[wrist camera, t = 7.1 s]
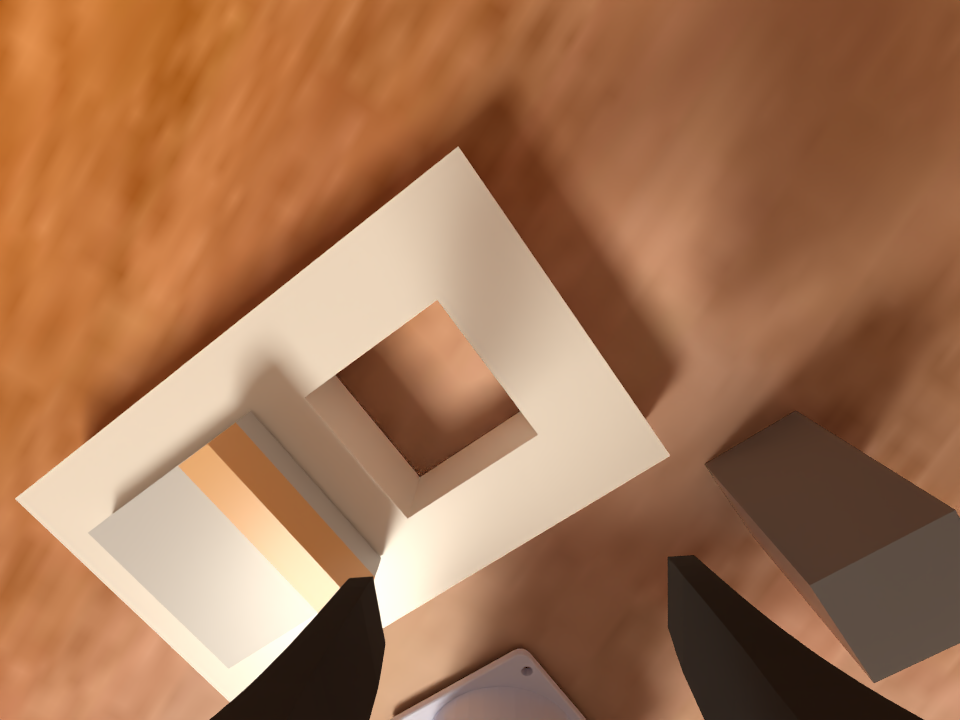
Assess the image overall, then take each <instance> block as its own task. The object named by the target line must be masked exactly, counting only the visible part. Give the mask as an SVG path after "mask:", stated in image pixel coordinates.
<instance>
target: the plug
mask: <svg viewBox="0 0 960 720" xmlns="http://www.w3.org/2000/svg"><path fill="white" fill-rule="evenodd" d="M705 466H706V467H707V469H708V470H709V472H710V473H711V475H712V476H713V478H714V479H715V481H716V482H717V484H718V485H719V487H720V488H721V490H722V491H723V492H724V494H725V495H726V497H727V498H728V500H729V501H730V503H731V504H732V506H733V507H734V509H735V510H736V512H737V513H738V515H739V516H740V518H741V519H742V521H743V522H744V524H745V525H746V527H747V528H748V530H749V531H750V533H751V534H752V536H753V537H754V538H755V539H756V540H757V542H758V543H759V544H760V545H761V547H762V548H763V549H764V550H765V551H766V553H767V554H768V555H769V556H770V557H771V559H772V560H773V561H774V562H775V564H776V565H777V566H778V567H779V568H780V570H781V571H782V572H783V573H784V574H785V576H786V577H787V578H788V579H789V581H790V582H791V583H792V584H793V585H794V587H795V588H796V589H797V590H798V591H799V593H800V594H801V595H802V596H803V598H804V599H805V600H806V601H807V602H808V604H809V605H810V606H811V607H812V609H813V610H814V611H815V612H816V613H817V615H818V616H819V617H820V618H821V619H822V621H823V622H824V623H825V624H826V626H827V627H828V628H829V629H830V630H831V632H832V633H833V634H834V635H835V636H836V638H837V639H838V640H839V641H840V643H841V644H842V645H843V646H844V647H845V649H846V650H847V651H848V652H849V653H850V655H851V656H852V657H853V658H854V660H855V661H856V662H857V663H858V664H859V666H860V667H861V668H862V669H863V670H864V672H865V673H866V674H867V675H868V677H869V678H870V679H871V680H872V681H873V683H876V682H878V681H880V680H882V679H884V678H886V677H888V676H890V675H893V674H895V673H897V672H899V671H901V670H903V669H905V668H908V667H910V666H912V665H914V664H916V663H918V662H920V661H923V660H925V659H927V658H929V657H931V656H933V655H935V654H938V653H940V652H942V651H944V650H946V649H948V648H950V647H952V646H955V645H957V644H959V643H960V518H959V516H958V514H957V512H956V510H954V509H953V508H951V507H950V506H948V505H946V504H945V503H943V502H942V501H940V500H938V499H937V498H935V497H933V496H932V495H930V494H929V493H927V492H925V491H924V490H922V489H921V488H919V487H917V486H916V485H914V484H913V483H911V482H909V481H908V480H906V479H905V478H903V477H901V476H900V475H898V474H897V473H895V472H893V471H892V470H890V469H889V468H887V467H885V466H884V465H882V464H881V463H879V462H877V461H876V460H874V459H873V458H871V457H869V456H868V455H866V454H865V453H863V452H861V451H860V450H858V449H856V448H855V447H853V446H852V445H850V444H848V443H847V442H845V441H844V440H842V439H840V438H839V437H837V436H836V435H834V434H832V433H831V432H829V431H828V430H826V429H824V428H823V427H821V426H820V425H818V424H816V423H815V422H813V421H812V420H810V419H808V418H807V417H805V416H804V415H802V414H800V413H799V412H797V411H794V412H793V413H791V414H789V415H787V416H786V417H784V418H782V419H781V420H779V421H777V422H776V423H774V424H772V425H771V426H769V427H767V428H765V429H764V430H762V431H760V432H759V433H757V434H755V435H754V436H752V437H750V438H748V439H747V440H745V441H743V442H742V443H740V444H738V445H737V446H735V447H733V448H731V449H730V450H728V451H726V452H725V453H723V454H721V455H720V456H718V457H716V458H714V459H713V460H711V461H709V462H708V463H706V464H705Z"/></svg>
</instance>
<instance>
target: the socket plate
mask: <svg viewBox="0 0 960 720" xmlns="http://www.w3.org/2000/svg"><path fill="white" fill-rule="evenodd" d="M436 300H438V301H439V303H440V304H441V305H442V307H443V308H444V309H445V311H446V312H447V313H448V315H449V316H450V317H451V319H452V320H453V321H454V323H455V324H456V326H457V327H458V328H459V330H460V331H461V332H462V334H463V335H464V336H465V338H466V339H467V340H468V342H469V343H470V344H471V346H472V347H473V348H474V350H475V351H476V352H477V354H478V355H479V356H480V358H481V359H482V360H483V362H484V363H485V364H486V366H487V367H488V368H489V370H490V371H491V372H492V374H493V375H494V376H495V378H496V379H497V380H498V382H499V383H500V384H501V386H502V387H503V388H504V390H505V391H506V392H507V394H508V395H509V396H510V398H511V399H512V400H513V402H514V403H515V404H516V406H517V407H518V408H519V410H520V412H518V413H517V414H515V415H514V416H512V417H511V418H509V419H508V420H506V421H505V422H503V423H502V424H500V425H499V426H497V427H496V428H494V429H492V430H491V431H489V432H488V433H486V434H485V435H483V436H482V437H480V438H479V439H477V440H476V441H474V442H473V443H471V444H470V445H468V446H467V447H465V448H464V449H462V450H461V451H459V452H458V453H456V454H455V455H453V456H451V457H450V458H448V459H447V460H445V461H444V462H442V463H441V464H439V465H438V466H436V467H435V468H433V469H432V470H430V471H429V472H427V473H426V474H424V475H423V476H421V477H419V476H418V474H417V473H416V472H415V471H414V470H413V468H412V467H411V466H410V465H409V463H408V462H407V461H406V460H405V459H404V457H403V456H402V455H401V454H400V453H399V451H398V450H397V449H396V448H395V447H394V445H393V444H392V443H391V442H390V441H389V439H388V438H387V437H386V436H385V434H384V433H383V432H382V431H381V430H380V428H379V427H378V426H377V425H376V424H375V422H374V421H373V420H372V419H371V418H370V416H369V415H368V414H367V413H366V412H365V410H364V409H363V408H362V407H361V405H360V404H359V403H358V402H357V401H356V399H355V398H354V397H353V396H352V395H351V393H350V392H349V391H348V390H347V389H346V387H345V386H344V385H343V384H342V382H341V381H340V380H339V379H338V378H337V376H336V374H337V373H338V372H340V371H341V370H342V369H344V368H345V367H347V366H348V365H349V364H351V363H352V362H353V361H355V360H356V359H357V358H359V357H360V356H361V355H363V354H364V353H366V352H367V351H368V350H370V349H371V348H372V347H374V346H375V345H376V344H378V343H379V342H381V341H382V340H383V339H385V338H386V337H387V336H389V335H390V334H391V333H393V332H394V331H396V330H397V329H398V328H400V327H401V326H402V325H404V324H405V323H406V322H408V321H409V320H411V319H412V318H413V317H415V316H416V315H417V314H419V313H420V312H421V311H423V310H424V309H426V308H427V307H428V306H430V305H431V304H432V303H434V302H435V301H436ZM250 411H251V412H252V413H253V414H254V415H255V416H256V418H257V419H258V420H259V421H260V422H261V423H262V424H263V425H264V427H265V428H266V429H267V430H268V431H269V432H270V433H271V434H272V436H273V437H274V438H275V439H276V440H277V441H278V442H279V443H280V445H281V446H282V447H283V448H284V449H285V450H286V451H287V452H288V454H289V455H290V456H291V457H292V458H293V459H294V460H295V462H296V463H297V464H298V465H299V466H300V467H301V468H302V469H303V471H304V472H305V473H306V474H307V475H308V476H309V477H310V478H311V480H312V481H313V482H314V483H315V484H316V485H317V486H318V487H319V489H320V490H321V491H322V492H323V493H324V494H325V495H326V496H327V498H328V499H329V500H330V501H331V502H332V503H333V504H334V506H335V507H336V508H337V509H338V510H339V511H340V512H341V513H342V515H343V516H344V517H345V518H346V519H347V520H348V521H349V522H350V524H351V525H352V526H353V527H354V528H355V529H356V530H357V531H358V533H359V534H360V535H361V536H362V537H363V538H364V539H365V540H366V542H367V543H368V544H369V545H370V546H371V547H372V548H373V550H374V551H375V552H376V553H377V554H378V555H379V556H380V557H381V561H380V564H379V567H378V570H377V573H376V576H375V578H374V584H375V590H376V595H377V601H378V606H379V611H380V617H381V622H382V628H384V627H386V626H388V625H389V624H391V623H393V622H394V621H396V620H398V619H399V618H401V617H403V616H404V615H406V614H408V613H409V612H411V611H413V610H414V609H416V608H418V607H419V606H421V605H423V604H424V603H426V602H428V601H429V600H431V599H433V598H434V597H436V596H438V595H439V594H441V593H443V592H444V591H446V590H448V589H449V588H451V587H453V586H454V585H456V584H458V583H459V582H461V581H463V580H464V579H466V578H468V577H469V576H471V575H473V574H474V573H476V572H478V571H479V570H481V569H483V568H484V567H486V566H488V565H489V564H491V563H493V562H494V561H496V560H498V559H499V558H501V557H503V556H504V555H506V554H508V553H509V552H511V551H513V550H514V549H516V548H518V547H519V546H521V545H523V544H524V543H526V542H528V541H529V540H531V539H533V538H534V537H536V536H538V535H539V534H541V533H543V532H544V531H546V530H548V529H549V528H551V527H553V526H554V525H556V524H558V523H559V522H561V521H563V520H564V519H566V518H568V517H569V516H571V515H573V514H574V513H576V512H578V511H579V510H581V509H583V508H584V507H586V506H588V505H589V504H591V503H593V502H594V501H596V500H598V499H599V498H601V497H603V496H604V495H606V494H608V493H609V492H611V491H613V490H614V489H616V488H618V487H619V486H621V485H623V484H624V483H626V482H628V481H629V480H631V479H633V478H634V477H636V476H638V475H639V474H641V473H643V472H644V471H646V470H648V469H649V468H651V467H653V466H654V465H656V464H658V463H659V462H661V461H663V460H664V459H666V458H668V457H669V456H670V454H669V453H668V451H667V450H666V449H665V447H664V446H663V444H662V443H661V441H660V440H659V438H658V437H657V435H656V434H655V433H654V431H653V430H652V428H651V427H650V425H649V424H648V422H647V421H646V419H645V418H644V416H643V415H642V414H641V412H640V411H639V409H638V408H637V406H636V405H635V403H634V402H633V400H632V399H631V398H630V396H629V395H628V393H627V392H626V390H625V389H624V387H623V386H622V384H621V383H620V381H619V380H618V379H617V377H616V376H615V374H614V373H613V371H612V370H611V368H610V367H609V365H608V364H607V362H606V361H605V360H604V358H603V357H602V355H601V354H600V352H599V351H598V349H597V348H596V346H595V345H594V344H593V342H592V341H591V339H590V338H589V336H588V335H587V333H586V332H585V330H584V329H583V327H582V326H581V325H580V323H579V322H578V320H577V319H576V317H575V316H574V314H573V313H572V311H571V310H570V309H569V307H568V306H567V304H566V303H565V301H564V300H563V298H562V297H561V295H560V294H559V292H558V291H557V290H556V288H555V287H554V285H553V284H552V282H551V281H550V279H549V278H548V276H547V275H546V274H545V272H544V271H543V269H542V268H541V266H540V265H539V263H538V262H537V260H536V259H535V257H534V256H533V255H532V253H531V252H530V250H529V249H528V247H527V246H526V244H525V243H524V241H523V240H522V239H521V237H520V236H519V234H518V233H517V231H516V230H515V228H514V227H513V225H512V224H511V222H510V221H509V220H508V218H507V217H506V215H505V214H504V212H503V211H502V209H501V208H500V206H499V205H498V204H497V202H496V201H495V199H494V198H493V196H492V195H491V193H490V192H489V190H488V189H487V187H486V186H485V185H484V183H483V182H482V180H481V179H480V177H479V176H478V174H477V173H476V171H475V170H474V169H473V167H472V166H471V164H470V163H469V161H468V160H467V158H466V157H465V155H464V154H463V152H462V151H461V150H460V148H459V147H457V148H455V149H454V150H453V151H452V152H450V153H449V154H448V155H447V156H445V157H444V158H443V159H442V160H440V161H439V162H438V163H437V164H435V165H434V166H433V167H432V168H430V169H429V170H428V171H426V172H425V173H424V174H423V175H421V176H420V177H419V178H418V179H416V180H415V181H414V182H413V183H411V184H410V185H409V186H408V187H406V188H405V189H404V190H403V191H401V192H400V193H399V194H398V195H396V196H395V197H394V198H393V199H391V200H390V201H389V202H388V203H386V204H385V205H384V206H382V207H381V208H380V209H379V210H377V211H376V212H375V213H374V214H372V215H371V216H370V217H369V218H367V219H366V220H365V221H364V222H362V223H361V224H360V225H359V226H357V227H356V228H355V229H354V230H352V231H351V232H350V233H349V234H347V235H346V236H345V237H344V238H342V239H341V240H340V241H338V242H337V243H336V244H335V245H333V246H332V247H331V248H330V249H328V250H327V251H326V252H325V253H323V254H322V255H321V256H320V257H318V258H317V259H316V260H315V261H313V262H312V263H311V264H310V265H308V266H307V267H306V268H305V269H303V270H302V271H301V272H300V273H298V274H297V275H296V276H294V277H293V278H292V279H291V280H289V281H288V282H287V283H286V284H284V285H283V286H282V287H281V288H279V289H278V290H277V291H276V292H274V293H273V294H272V295H271V296H269V297H268V298H267V299H266V300H264V301H263V302H262V303H261V304H259V305H258V306H257V307H256V308H254V309H253V310H252V311H250V312H249V313H248V314H247V315H245V316H244V317H243V318H242V319H240V320H239V321H238V322H237V323H235V324H234V325H233V326H232V327H230V328H229V329H228V330H227V331H225V332H224V333H223V334H222V335H220V336H219V337H218V338H217V339H215V340H214V341H213V342H212V343H210V344H209V345H208V346H206V347H205V348H204V349H203V350H201V351H200V352H199V353H198V354H196V355H195V356H194V357H193V358H191V359H190V360H189V361H188V362H186V363H185V364H184V365H183V366H181V367H180V368H179V369H178V370H176V371H175V372H174V373H173V374H171V375H170V376H169V377H168V378H166V379H165V380H164V381H162V382H161V383H160V384H159V385H157V386H156V387H155V388H154V389H152V390H151V391H150V392H149V393H147V394H146V395H145V396H144V397H142V398H141V399H140V400H139V401H137V402H136V403H135V404H134V405H132V406H131V407H130V408H129V409H127V410H126V411H125V412H124V413H122V414H121V415H120V416H118V417H117V418H116V419H115V420H113V421H112V422H111V423H110V424H108V425H107V426H106V427H105V428H103V429H102V430H101V431H100V432H98V433H97V434H96V435H95V436H93V437H92V438H91V439H90V440H88V441H87V442H86V443H85V444H83V445H82V446H81V447H80V448H78V449H77V450H76V451H74V452H73V453H72V454H71V455H69V456H68V457H67V458H66V459H64V460H63V461H62V462H61V463H59V464H58V465H57V466H56V467H54V468H53V469H52V470H51V471H49V472H48V473H47V474H46V475H44V476H43V477H42V478H41V479H39V480H38V481H37V482H36V483H34V484H33V485H32V486H31V487H29V488H28V489H27V490H25V491H24V492H23V493H22V494H20V495H19V496H18V497H17V498H15V499H16V500H17V501H18V502H19V503H20V504H21V505H22V506H23V507H24V508H25V509H26V510H27V511H28V512H29V513H31V514H32V515H33V516H34V517H35V518H36V519H37V520H38V521H39V522H40V523H41V524H42V525H43V526H44V527H45V528H46V529H47V530H48V531H50V532H51V533H52V534H53V535H54V536H55V537H56V538H57V539H58V540H59V541H60V542H61V543H62V544H63V545H64V546H65V547H66V548H67V549H69V550H70V551H71V552H72V553H73V554H74V555H75V556H76V557H77V558H78V559H79V560H80V561H81V562H82V563H83V564H84V565H85V566H86V567H88V568H89V569H90V570H91V571H92V572H93V573H94V574H95V575H96V576H97V577H98V578H99V579H100V580H101V581H102V582H103V583H104V584H105V585H107V586H108V587H109V588H110V589H111V590H112V591H113V592H114V593H115V594H116V595H117V596H118V597H119V598H120V599H121V600H122V601H123V602H124V603H126V604H127V605H128V606H129V607H130V608H131V609H132V610H133V611H134V612H135V613H136V614H137V615H138V616H139V617H140V618H141V619H142V620H143V621H145V622H146V623H147V624H148V625H149V626H150V627H151V628H152V629H153V630H154V631H155V632H156V633H157V634H158V635H159V636H160V637H161V638H162V639H164V640H165V641H166V642H167V643H168V644H169V645H170V646H171V647H172V648H173V649H174V650H175V651H176V652H177V653H178V654H179V655H180V656H181V657H183V658H184V659H185V660H186V661H187V662H188V663H189V664H190V665H191V666H192V667H193V668H194V669H195V670H196V671H197V672H198V673H199V674H200V675H202V676H203V677H204V678H205V679H206V680H207V681H208V682H209V683H210V684H211V685H212V686H213V687H214V688H215V689H216V690H217V691H218V692H219V693H221V694H222V695H223V696H224V697H225V698H226V699H227V700H228V701H229V702H231V701H232V700H233V699H234V698H235V697H237V696H238V695H239V694H240V693H241V692H242V691H243V690H244V689H245V688H247V687H248V686H249V685H250V684H251V683H252V682H253V681H254V680H255V679H256V678H257V677H258V676H259V675H260V674H261V673H262V672H263V671H264V670H265V669H266V668H267V667H268V666H269V665H270V664H271V663H272V662H273V661H274V660H275V659H276V658H277V657H278V656H279V655H280V654H281V653H282V652H283V651H284V650H285V649H286V648H287V647H288V646H289V645H290V644H291V643H292V642H293V640H294V639H295V638H296V637H297V636H298V635H299V634H300V633H301V632H302V631H303V629H304V628H305V627H306V626H307V625H308V624H309V623H310V622H311V621H312V620H313V618H314V617H315V616H316V615H317V614H318V613H317V614H315V615H314V616H312V617H311V618H309V619H307V620H306V621H304V622H303V623H301V624H299V625H298V626H296V627H295V628H293V629H291V630H290V631H288V632H287V633H285V634H283V635H282V636H280V637H279V638H277V639H275V640H274V641H272V642H271V643H269V644H267V645H266V646H264V647H263V648H261V649H259V650H258V651H256V652H255V653H253V654H251V655H250V656H248V657H247V658H245V659H243V660H242V661H240V662H239V663H237V664H235V665H234V666H232V667H231V668H229V669H228V668H227V667H226V666H225V665H224V664H223V663H222V662H221V661H220V660H219V659H218V658H217V657H216V656H215V655H214V654H213V653H212V652H211V651H210V650H209V649H208V648H206V647H205V646H204V645H203V644H202V643H201V642H200V641H199V640H198V639H197V638H196V637H195V636H194V635H193V634H192V633H191V632H190V631H189V630H188V629H187V628H186V627H185V626H184V625H183V624H182V623H181V622H180V621H179V620H178V619H176V618H175V617H174V616H173V615H172V614H171V613H170V612H169V611H168V610H167V609H166V608H165V607H164V606H163V605H162V604H161V603H160V602H159V601H158V600H157V599H156V598H155V597H154V596H153V595H152V594H151V593H150V592H149V591H147V590H146V589H145V588H144V587H143V586H142V585H141V584H140V583H139V582H138V581H137V580H136V579H135V578H134V577H133V576H132V575H131V574H130V573H129V572H128V571H127V570H126V569H125V568H124V567H123V566H122V565H121V564H120V563H118V562H117V561H116V560H115V559H114V558H113V557H112V556H111V555H110V554H109V553H108V552H107V551H106V550H105V549H104V548H103V547H102V546H101V545H100V544H99V543H98V542H97V541H96V540H95V539H94V538H93V537H92V536H91V535H89V534H88V532H89V531H91V530H92V529H93V528H95V527H96V526H97V525H99V524H100V523H101V522H103V521H104V520H105V519H107V518H108V517H109V516H110V515H112V514H113V513H115V512H116V511H117V510H119V509H120V508H121V507H123V506H124V505H125V504H127V503H128V502H129V501H131V500H132V499H133V498H135V497H136V496H137V495H139V494H140V493H141V492H143V491H144V490H145V489H147V488H148V487H149V486H151V485H152V484H153V483H155V482H156V481H157V480H159V479H160V478H161V477H163V476H164V475H165V474H167V473H168V472H169V471H171V470H172V469H173V468H175V467H176V466H177V465H179V464H180V463H182V462H183V461H184V460H186V459H187V458H188V457H190V456H191V455H192V454H194V453H195V452H196V451H198V450H199V449H200V448H202V447H203V446H204V445H206V444H207V443H208V442H210V441H211V440H212V439H214V438H215V437H216V436H218V435H219V434H220V433H222V432H223V431H224V430H226V429H227V428H228V427H230V426H231V425H232V424H234V423H235V422H236V421H238V420H239V419H240V418H242V417H243V416H244V415H246V414H247V413H248V412H250Z"/></svg>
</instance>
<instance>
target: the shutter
mask: <svg viewBox="0 0 960 720" xmlns="http://www.w3.org/2000/svg"><path fill="white" fill-rule="evenodd" d="M88 534H89V535H91V536H92V537H93V538H94V539H95V540H96V541H97V542H98V543H99V544H100V545H101V546H102V547H103V548H104V549H105V550H106V551H107V552H108V553H109V554H110V555H111V556H112V557H113V558H114V559H115V560H116V561H117V562H118V563H120V564H121V565H122V566H123V567H124V568H125V569H126V570H127V571H128V572H129V573H130V574H131V575H132V576H133V577H134V578H135V579H136V580H137V581H138V582H139V583H140V584H141V585H142V586H143V587H144V588H145V589H146V590H147V591H149V592H150V593H151V594H152V595H153V596H154V597H155V598H156V599H157V600H158V601H159V602H160V603H161V604H162V605H163V606H164V607H165V608H166V609H167V610H168V611H169V612H170V613H171V614H172V615H173V616H174V617H175V618H176V619H178V620H179V621H180V622H181V623H182V624H183V625H184V626H185V627H186V628H187V629H188V630H189V631H190V632H191V633H192V634H193V635H194V636H195V637H196V638H197V639H198V640H199V641H200V642H201V643H202V644H203V645H204V646H205V647H206V648H208V649H209V650H210V651H211V652H212V653H213V654H214V655H215V656H216V657H217V658H218V659H219V660H220V661H221V662H222V663H223V664H224V665H225V666H226V667H227V668H228V669H229V668H231V667H232V666H234V665H235V664H237V663H239V662H240V661H242V660H243V659H245V658H247V657H248V656H250V655H251V654H253V653H255V652H256V651H258V650H259V649H261V648H263V647H264V646H266V645H267V644H269V643H271V642H272V641H274V640H275V639H277V638H279V637H280V636H282V635H283V634H285V633H287V632H288V631H290V630H291V629H293V628H295V627H296V626H298V625H299V624H301V623H303V622H304V621H306V620H307V619H309V618H311V617H312V616H314V615H315V614H317V613H319V612H320V610H321V609H322V608H323V607H324V606H325V605H326V604H327V602H328V601H329V600H330V599H331V598H332V597H333V595H334V594H335V593H336V592H337V591H338V590H339V589H340V588H341V586H342V585H343V584H344V583H345V582H346V581H347V580H348V579H349V578H356V577H371V576H373V579H374V578H375V576H376V573H377V570H378V567H379V564H380V561H381V557H380V556H379V555H378V554H377V553H376V552H375V551H374V550H373V548H372V547H371V546H370V545H369V544H368V543H367V542H366V540H365V539H364V538H363V537H362V536H361V535H360V534H359V533H358V531H357V530H356V529H355V528H354V527H353V526H352V525H351V524H350V522H349V521H348V520H347V519H346V518H345V517H344V516H343V515H342V513H341V512H340V511H339V510H338V509H337V508H336V507H335V506H334V504H333V503H332V502H331V501H330V500H329V499H328V498H327V496H326V495H325V494H324V493H323V492H322V491H321V490H320V489H319V487H318V486H317V485H316V484H315V483H314V482H313V481H312V480H311V478H310V477H309V476H308V475H307V474H306V473H305V472H304V471H303V469H302V468H301V467H300V466H299V465H298V464H297V463H296V462H295V460H294V459H293V458H292V457H291V456H290V455H289V454H288V452H287V451H286V450H285V449H284V448H283V447H282V446H281V445H280V443H279V442H278V441H277V440H276V439H275V438H274V437H273V436H272V434H271V433H270V432H269V431H268V430H267V429H266V428H265V427H264V425H263V424H262V423H261V422H260V421H259V420H258V419H257V418H256V416H255V415H254V414H253V413H252V412H251V411H250V412H248V413H247V414H246V415H244V416H243V417H242V418H240V419H239V420H238V421H236V422H235V423H234V424H232V425H231V426H230V427H228V428H227V429H226V430H224V431H223V432H222V433H220V434H219V435H218V436H216V437H215V438H214V439H212V440H211V441H210V442H208V443H207V444H206V445H204V446H203V447H202V448H200V449H199V450H198V451H196V452H195V453H194V454H192V455H191V456H190V457H188V458H187V459H186V460H184V461H183V462H182V463H180V464H179V465H177V466H176V467H175V468H173V469H172V470H171V471H169V472H168V473H167V474H165V475H164V476H163V477H161V478H160V479H159V480H157V481H156V482H155V483H153V484H152V485H151V486H149V487H148V488H147V489H145V490H144V491H143V492H141V493H140V494H139V495H137V496H136V497H135V498H133V499H132V500H131V501H129V502H128V503H127V504H125V505H124V506H123V507H121V508H120V509H119V510H117V511H116V512H115V513H113V514H112V515H110V516H109V517H108V518H107V519H105V520H104V521H103V522H101V523H100V524H99V525H97V526H96V527H95V528H93V529H92V530H91V531H89V532H88Z"/></svg>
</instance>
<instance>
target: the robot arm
mask: <svg viewBox="0 0 960 720" xmlns="http://www.w3.org/2000/svg"><path fill="white" fill-rule="evenodd" d="M668 629H669V632H670V635H671V638H672V641H673V644H674V647H675V651H676V653H677V656H678V659H679V662H680V665H681V668H682V671H683V673H684V676H685V678H686V680H687V682H688V685H689V687H690V689H691V691H692V693H693V695H694V698H695V700H696V702H697V704H698V706H699V709H700V711H701V713H702V715H703V717H704V719H705V720H923V719H922V718H920V717H918V716H916V715H915V714H913V713H911V712H909V711H907V710H906V709H904V708H902V707H900V706H899V705H897V704H895V703H893V702H892V701H890V700H888V699H886V698H885V697H883V696H881V695H880V694H878V693H876V692H875V691H873V690H871V689H870V688H868V687H866V686H865V685H863V684H861V683H860V682H858V681H857V680H855V679H854V678H852V677H851V676H849V675H847V674H846V673H844V672H843V671H841V670H840V669H838V668H837V667H835V666H834V665H832V664H830V663H829V662H827V661H826V660H824V659H823V658H822V657H820V656H819V655H817V654H816V653H814V652H813V651H811V650H810V649H809V648H807V647H806V646H805V645H803V644H802V643H800V642H799V641H798V640H796V639H795V638H794V637H792V636H791V635H790V634H788V633H787V632H785V631H784V630H783V629H781V628H780V627H779V626H778V625H776V624H775V623H774V622H772V621H771V620H770V619H769V618H767V617H766V616H765V615H764V614H762V613H761V612H760V611H759V610H757V609H756V608H755V607H754V606H752V605H751V604H750V603H749V602H748V601H746V600H745V599H744V598H743V597H742V596H740V595H739V594H738V593H737V592H736V591H735V590H733V589H732V588H731V587H730V586H729V585H728V584H726V583H725V582H724V581H723V580H722V579H721V578H719V577H718V576H717V575H716V574H715V573H714V572H713V571H711V570H710V569H709V568H708V567H707V566H706V565H704V564H703V563H702V562H701V561H700V560H699V559H698V558H696V557H695V556H694V555H690V556H675V557H668ZM384 650H385V639H384V633H383V628H382V622H381V617H380V611H379V606H378V601H377V595H376V590H375V584H374V579H373V576H371V577H356V578H349V579H348V580H347V581H346V582H345V583H344V584H343V585H342V586H341V588H340V589H339V590H338V591H337V592H336V593H335V594H334V595H333V597H332V598H331V599H330V600H329V601H328V602H327V604H326V605H325V606H324V607H323V608H322V609H321V610H320V612H319V613H318V614H317V615H316V616H315V617H314V618H313V620H312V621H311V622H310V623H309V624H308V625H307V626H306V627H305V628H304V629H303V631H302V632H301V633H300V634H299V635H298V636H297V637H296V638H295V639H294V640H293V642H292V643H291V644H290V645H289V646H288V647H287V648H286V649H285V650H284V651H283V652H282V653H281V654H280V655H279V656H278V657H277V658H276V659H275V660H274V661H273V662H272V663H271V664H270V665H269V666H268V667H267V668H266V669H265V670H264V671H263V672H262V673H261V674H260V675H259V676H258V677H257V678H256V679H255V680H254V681H253V682H252V683H251V684H250V685H249V686H248V687H247V688H245V689H244V690H243V691H242V692H241V693H240V694H239V695H238V696H237V697H235V698H234V699H233V700H232V701H231V702H230V703H229V704H227V705H226V706H225V707H224V708H223V709H222V710H221V711H219V712H218V713H217V714H216V715H215V716H213V717H212V718H211V719H210V720H369V719H370V715H371V712H372V708H373V705H374V701H375V697H376V694H377V690H378V685H379V680H380V674H381V669H382V662H383V656H384ZM524 667H530V668H524ZM391 720H586V718H585V717H584V716H583V715H582V714H581V713H580V711H579V710H578V709H577V708H576V707H575V706H574V704H573V703H572V702H571V701H570V700H569V698H568V697H567V696H566V695H565V694H564V693H563V691H562V690H561V689H560V688H559V687H558V685H557V684H556V683H555V682H554V681H553V680H552V678H551V677H550V676H549V675H548V674H547V673H546V671H545V670H544V669H543V668H542V667H541V665H540V664H539V663H538V662H537V661H536V660H535V658H534V657H533V656H532V655H531V654H530V652H528V651H527V650H525V649H515V650H513V651H511V652H510V653H508V654H506V655H504V656H502V657H501V658H499V659H497V660H495V661H493V662H492V663H490V664H488V665H486V666H484V667H483V668H481V669H479V670H477V671H475V672H474V673H472V674H470V675H468V676H466V677H465V678H463V679H461V680H459V681H457V682H456V683H454V684H452V685H450V686H448V687H447V688H445V689H443V690H441V691H439V692H438V693H436V694H434V695H432V696H430V697H429V698H427V699H425V700H423V701H421V702H420V703H418V704H416V705H414V706H412V707H411V708H409V709H407V710H405V711H403V712H402V713H400V714H398V715H396V716H394V717H393V718H392V719H391Z"/></svg>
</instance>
